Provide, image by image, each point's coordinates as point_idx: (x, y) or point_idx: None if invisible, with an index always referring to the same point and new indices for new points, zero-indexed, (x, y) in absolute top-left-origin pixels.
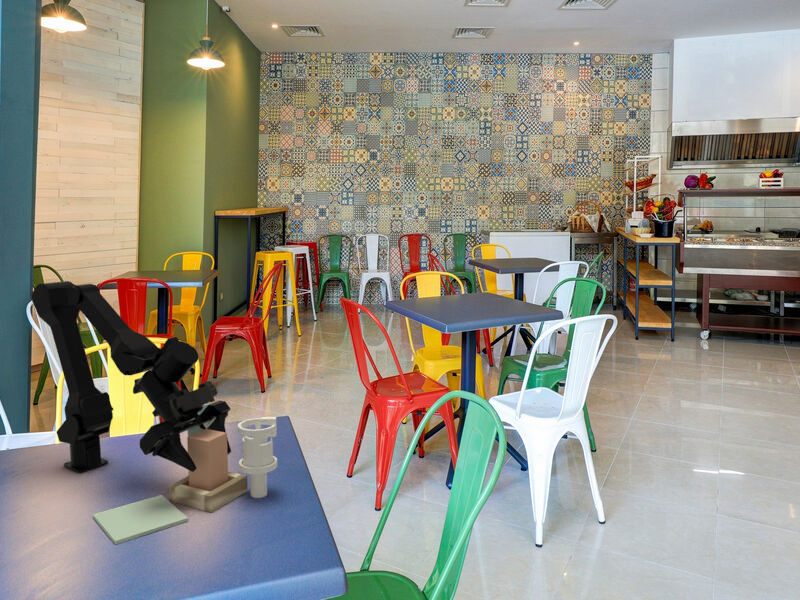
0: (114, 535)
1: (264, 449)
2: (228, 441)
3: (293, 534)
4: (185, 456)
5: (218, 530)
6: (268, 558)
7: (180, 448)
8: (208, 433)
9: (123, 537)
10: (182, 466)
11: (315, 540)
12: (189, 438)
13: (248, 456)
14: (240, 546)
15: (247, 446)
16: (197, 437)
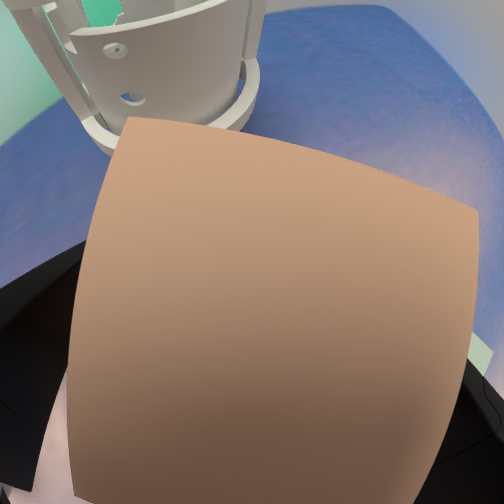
0: (481, 372)
1: None
2: (36, 267)
3: (347, 39)
4: (470, 361)
5: (405, 171)
6: (421, 67)
7: (500, 407)
8: (226, 404)
9: (485, 349)
10: None
11: (346, 16)
12: (414, 485)
13: (241, 46)
14: (423, 110)
15: (247, 3)
16: (419, 425)
